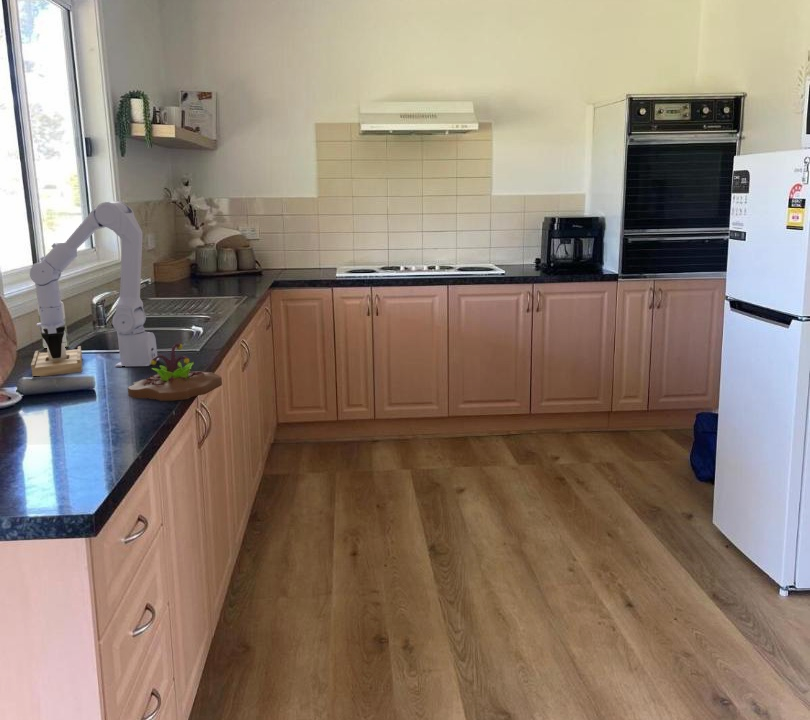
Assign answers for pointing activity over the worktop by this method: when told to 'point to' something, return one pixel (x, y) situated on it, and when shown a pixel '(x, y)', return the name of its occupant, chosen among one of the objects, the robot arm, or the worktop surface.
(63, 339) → the syrup box
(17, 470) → the worktop surface
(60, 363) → the jig plate
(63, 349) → the cream small block
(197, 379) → the plant
